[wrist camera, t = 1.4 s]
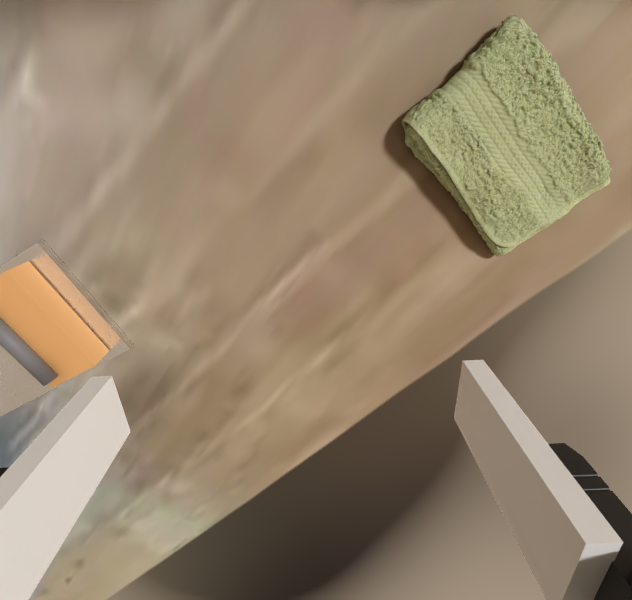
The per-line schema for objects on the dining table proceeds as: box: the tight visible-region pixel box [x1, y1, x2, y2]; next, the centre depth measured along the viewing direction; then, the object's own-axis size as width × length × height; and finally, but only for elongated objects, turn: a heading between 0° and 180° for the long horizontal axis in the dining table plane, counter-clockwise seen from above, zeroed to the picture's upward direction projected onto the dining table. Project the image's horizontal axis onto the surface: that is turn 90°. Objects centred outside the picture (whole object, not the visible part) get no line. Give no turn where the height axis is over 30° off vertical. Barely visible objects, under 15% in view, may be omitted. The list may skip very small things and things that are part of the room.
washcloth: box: [402, 15, 612, 256], centre depth 33 cm, size 13×18×3 cm
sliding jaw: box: [0, 261, 109, 388], centre depth 37 cm, size 12×6×5 cm, turn 28°
